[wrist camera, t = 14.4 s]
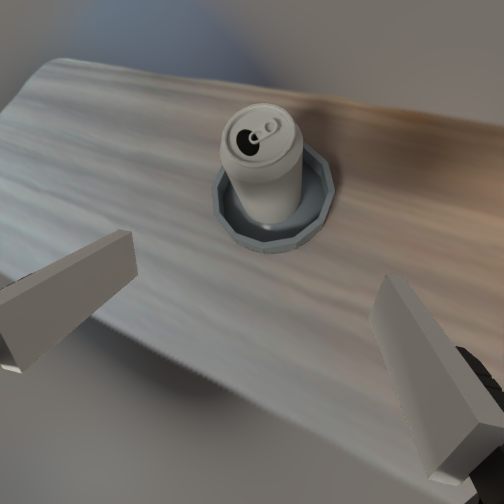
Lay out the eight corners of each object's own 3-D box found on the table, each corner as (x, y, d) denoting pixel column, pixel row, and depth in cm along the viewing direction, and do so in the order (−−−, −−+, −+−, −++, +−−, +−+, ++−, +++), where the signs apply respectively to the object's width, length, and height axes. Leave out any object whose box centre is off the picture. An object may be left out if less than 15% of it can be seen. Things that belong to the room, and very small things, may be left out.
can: (235, 188, 32) (201, 119, 21) (286, 164, 32) (280, 80, 20) (256, 236, 30) (231, 187, 19) (311, 210, 29) (321, 145, 18)
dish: (344, 167, 31) (349, 152, 28) (306, 270, 28) (307, 265, 25) (244, 143, 34) (240, 127, 32) (203, 232, 32) (194, 224, 29)
